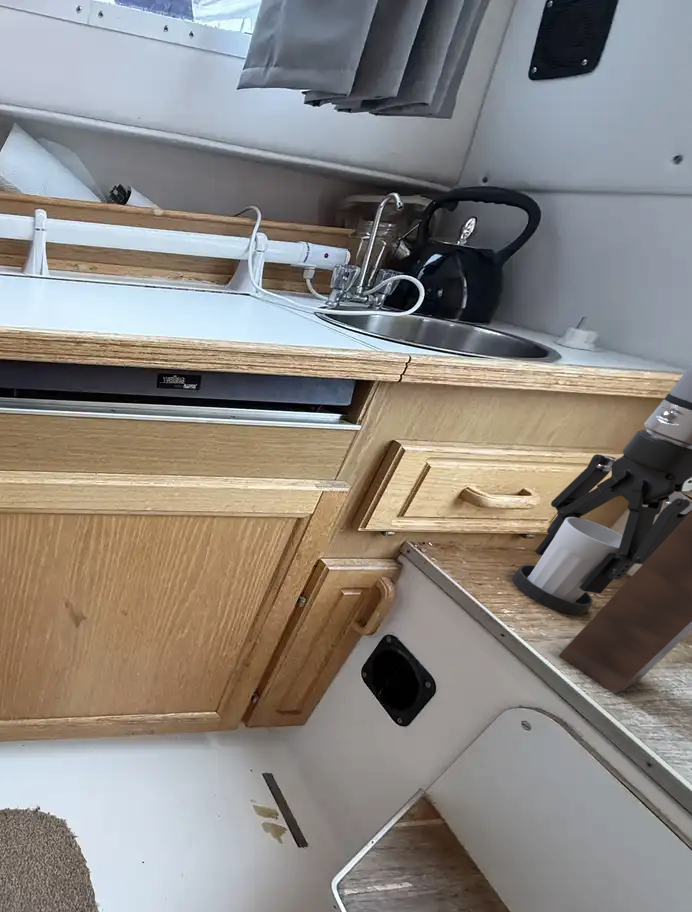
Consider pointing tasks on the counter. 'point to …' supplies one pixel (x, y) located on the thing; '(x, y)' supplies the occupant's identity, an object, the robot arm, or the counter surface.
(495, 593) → the counter surface
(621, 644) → the stand
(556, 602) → the ring
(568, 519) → the cup
